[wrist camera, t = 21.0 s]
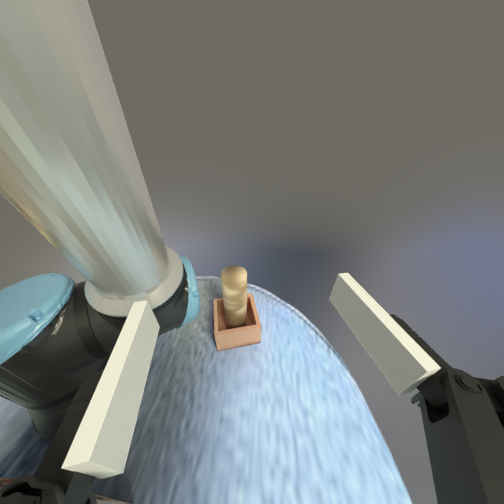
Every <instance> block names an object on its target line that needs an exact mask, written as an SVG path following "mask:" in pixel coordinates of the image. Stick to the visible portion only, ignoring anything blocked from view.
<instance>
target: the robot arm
mask: <svg viewBox="0 0 504 504" xmlns="http://www.w3.org/2000/svg"><path fill="white" fill-rule="evenodd" d="M0 193H1V194H2V195H3V196H4V197H5V198H6V199H7V200H8V201H9V202H10V203H11V204H12V205H13V206H14V207H15V208H16V209H17V210H18V211H19V212H20V213H21V214H22V215H23V216H24V217H25V218H26V219H27V220H28V221H29V222H30V223H31V224H32V225H33V226H34V227H35V228H36V229H37V230H38V231H39V232H40V233H41V234H42V235H43V236H44V237H45V238H46V239H47V240H48V241H49V242H50V243H51V244H52V245H53V246H54V247H55V248H56V249H57V250H58V251H59V252H60V253H61V254H62V255H63V256H64V257H65V258H66V259H67V260H68V261H69V262H70V263H71V264H72V265H73V266H74V267H75V268H76V269H77V270H78V271H79V272H80V273H81V274H82V275H83V276H84V277H86V279H87V280H86V281H85V282H80V283H74V280H73V279H72V278H70V277H68V276H66V275H64V274H57V273H49V274H43V275H38V276H35V277H32V278H28V279H26V280H23V281H20V282H18V283H15V284H13V285H11V286H8V287H6V288H4V289H2V290H0V396H1V397H4V398H6V399H8V400H10V401H12V402H15V403H17V404H19V405H21V406H23V407H25V408H27V409H28V411H29V414H30V416H31V418H32V422H33V426H34V429H35V431H36V433H37V434H38V435H39V436H40V437H42V438H43V439H46V440H48V441H51V444H50V446H49V448H48V450H47V452H46V454H45V456H44V458H43V460H42V462H41V464H40V466H39V468H38V470H37V471H36V473H35V475H34V476H31V475H23V476H21V477H18V478H15V479H14V480H12V481H11V482H9V483H8V484H7V485H5V486H4V487H2V488H1V489H0V504H97V501H96V498H95V495H94V492H93V490H92V486H93V483H94V480H95V477H96V478H100V479H104V478H108V477H111V476H115V475H119V474H122V473H124V469H125V465H126V461H127V457H128V453H129V449H130V445H131V441H132V437H133V433H134V429H135V425H136V421H137V417H138V413H139V409H140V405H141V401H142V397H143V393H144V389H145V384H146V380H147V376H148V372H149V368H150V364H151V360H152V356H153V352H154V348H155V344H156V340H157V336H158V335H161V334H163V333H165V332H168V331H170V330H173V329H175V328H181V327H182V326H184V324H186V323H188V322H191V321H193V320H194V319H195V318H196V317H197V316H198V314H199V311H200V296H199V293H198V284H197V280H196V276H195V273H194V270H193V267H192V265H191V262H190V261H189V259H188V258H187V257H185V256H181V257H180V256H178V255H177V253H176V252H175V251H173V250H172V249H170V248H169V247H166V246H165V244H164V241H163V238H162V235H161V232H160V228H159V225H158V222H157V219H156V216H155V212H154V210H153V206H152V203H151V200H150V197H149V194H148V190H147V187H146V184H145V181H144V178H143V175H142V172H141V169H140V165H139V162H138V159H137V156H136V153H135V150H134V146H133V143H132V140H131V137H130V134H129V131H128V127H127V124H126V121H125V118H124V115H123V112H122V109H121V105H120V102H119V99H118V96H117V93H116V89H115V86H114V83H113V80H112V77H111V74H110V70H109V67H108V64H107V61H106V58H105V55H104V52H103V49H102V45H101V42H100V39H99V36H98V32H97V29H96V26H95V23H94V20H93V17H92V14H91V10H90V7H89V4H88V1H87V0H0ZM329 300H330V301H331V303H332V304H333V305H334V307H335V308H336V310H337V311H338V312H339V314H340V315H341V317H342V318H343V319H344V321H345V322H346V323H347V325H348V326H349V328H350V329H351V331H352V332H353V333H354V335H355V336H356V338H357V339H358V340H359V342H360V343H361V345H362V346H363V347H364V349H365V350H366V352H367V353H368V354H369V356H370V357H371V358H372V360H373V361H374V363H375V364H376V365H377V367H378V368H379V369H380V371H381V372H382V374H383V375H384V377H385V378H386V379H387V381H388V382H389V384H390V385H391V386H392V388H393V389H394V391H395V392H396V393H397V395H398V396H399V395H403V394H406V393H410V392H411V391H412V390H414V389H415V388H417V389H418V390H419V391H420V392H419V393H417V394H416V395H415V396H414V397H413V398H412V400H411V402H412V403H413V404H414V403H416V402H417V401H419V403H418V406H419V407H421V413H422V419H423V424H424V430H425V435H426V440H427V446H428V452H429V457H430V463H431V468H432V473H433V479H434V485H435V490H436V496H437V501H438V504H504V376H501V377H499V378H497V379H495V380H487V379H481V378H474V377H472V376H471V375H469V374H468V373H466V372H464V371H462V370H458V369H454V368H452V367H451V366H450V365H448V364H447V363H446V362H445V361H444V360H443V359H442V358H441V357H440V356H439V355H438V354H437V353H436V352H435V351H434V350H433V349H432V348H431V347H430V346H429V345H428V344H427V343H426V342H425V341H424V340H423V339H422V338H420V337H419V336H418V335H417V334H416V333H415V332H414V331H412V329H411V328H410V327H409V326H408V325H407V324H406V323H405V322H404V321H403V320H401V319H400V318H398V317H396V316H395V315H394V314H393V315H388V313H386V311H385V310H384V309H383V308H382V307H381V306H380V305H379V304H378V303H377V302H376V301H375V300H374V299H373V298H372V297H371V296H370V295H369V294H368V293H367V292H366V291H365V290H364V289H363V288H362V287H361V286H360V285H359V284H358V283H357V282H356V281H355V280H354V279H353V278H352V277H351V276H350V275H349V274H348V273H342V274H338V276H337V280H336V282H335V285H334V288H333V290H332V293H331V296H330V298H329Z"/></svg>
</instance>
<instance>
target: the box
mask: <svg viewBox="0 0 504 504" xmlns="http://www.w3.org/2000/svg"><path fill="white" fill-rule="evenodd" d="M213 300H214V335H215V341H216V346H217V351H221V350H226V349H231V348H236V347H242V346H247V345H252V344H257V343H260V338H261V325H260V321H259V317H258V313H257V310H256V306H255V302H254V298H253V295H252V293H251V294H247V326H245V327H239V328H234V329H228V330H226V324H225V314H224V303H223V298H217V299H213Z"/></svg>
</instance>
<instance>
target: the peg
mask: <svg viewBox="0 0 504 504" xmlns="http://www.w3.org/2000/svg"><path fill="white" fill-rule="evenodd" d="M221 282H222V292H223V303H224V314H225V324H226V330H228V329H234V328H239V327H245V326H247V272H246V270H245V269H244V268H242V267H240V266H229V267H227V268H225V269H224V270H223V271H222V272H221Z"/></svg>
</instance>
